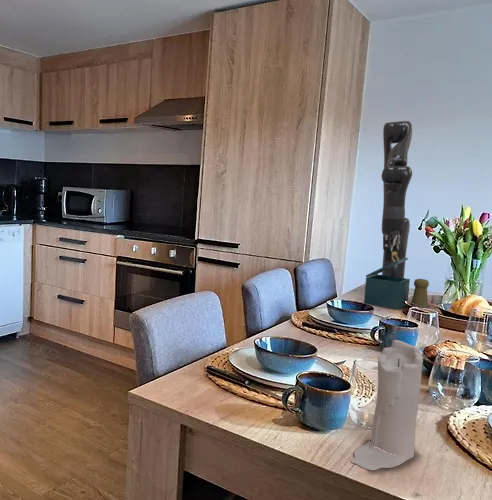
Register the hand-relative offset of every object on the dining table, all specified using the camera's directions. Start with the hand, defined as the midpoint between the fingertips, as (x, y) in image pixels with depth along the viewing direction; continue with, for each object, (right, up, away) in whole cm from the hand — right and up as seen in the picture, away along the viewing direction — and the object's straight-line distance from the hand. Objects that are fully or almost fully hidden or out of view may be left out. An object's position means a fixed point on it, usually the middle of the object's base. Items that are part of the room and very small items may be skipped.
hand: (391, 259), depth 200 cm
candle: (-56, -33, -109) cm, 127 cm away
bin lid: (-1, -4, +1) cm, 4 cm away
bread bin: (-1, -18, +3) cm, 18 cm away
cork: (+12, -19, +1) cm, 22 cm away
